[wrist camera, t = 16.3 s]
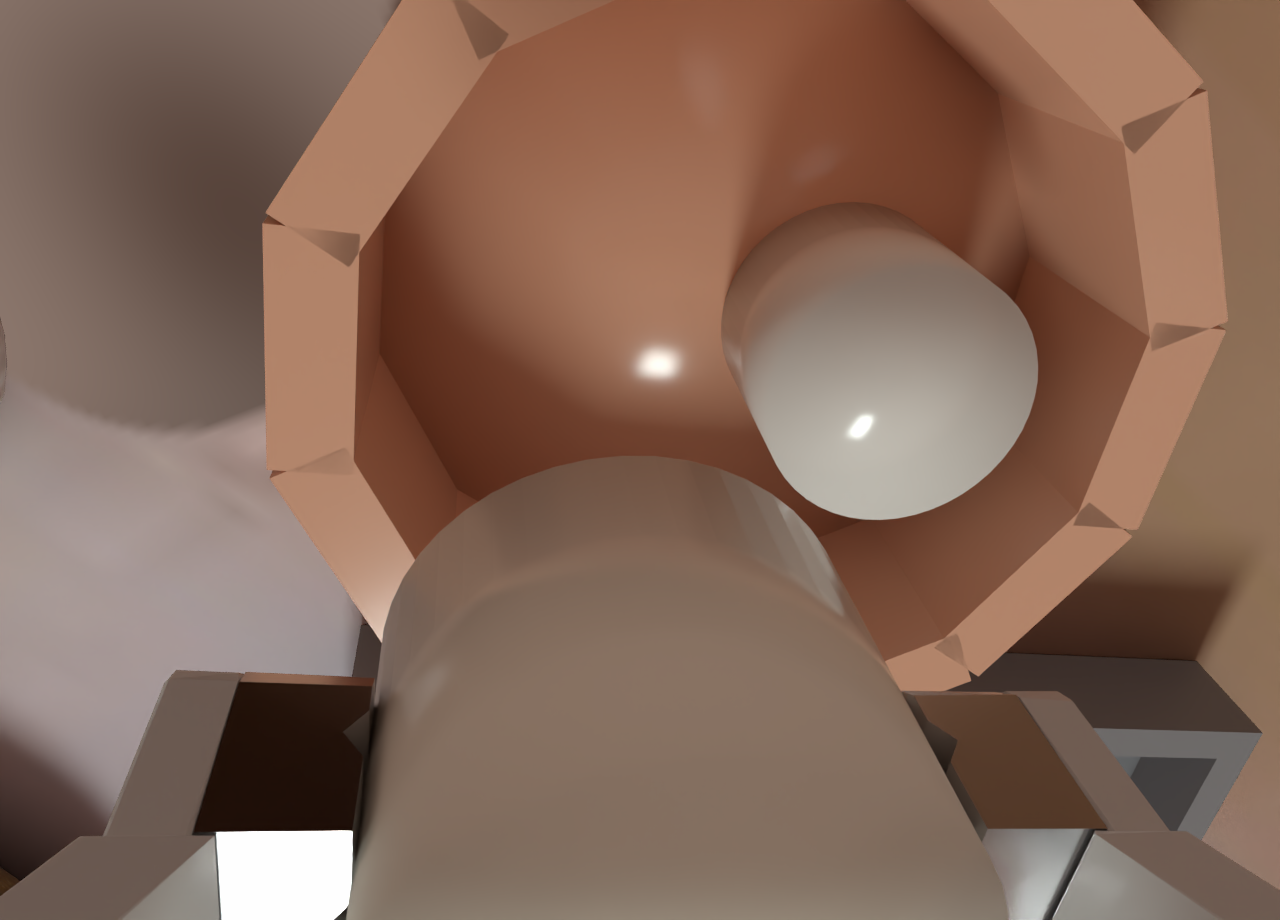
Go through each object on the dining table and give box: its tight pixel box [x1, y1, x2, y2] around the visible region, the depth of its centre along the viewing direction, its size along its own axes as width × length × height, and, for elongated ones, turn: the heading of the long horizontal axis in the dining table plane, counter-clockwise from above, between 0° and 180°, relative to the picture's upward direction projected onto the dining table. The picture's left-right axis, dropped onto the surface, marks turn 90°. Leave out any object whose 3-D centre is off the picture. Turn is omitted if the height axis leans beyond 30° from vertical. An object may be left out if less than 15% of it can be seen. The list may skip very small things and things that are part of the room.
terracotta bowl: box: [263, 0, 1228, 691], centre depth 17 cm, size 14×14×4 cm
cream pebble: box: [346, 456, 1008, 920], centre depth 8 cm, size 4×4×4 cm
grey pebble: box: [721, 202, 1038, 520], centre depth 18 cm, size 4×4×4 cm
